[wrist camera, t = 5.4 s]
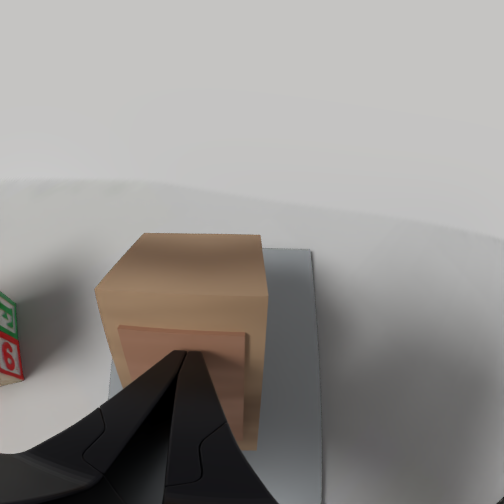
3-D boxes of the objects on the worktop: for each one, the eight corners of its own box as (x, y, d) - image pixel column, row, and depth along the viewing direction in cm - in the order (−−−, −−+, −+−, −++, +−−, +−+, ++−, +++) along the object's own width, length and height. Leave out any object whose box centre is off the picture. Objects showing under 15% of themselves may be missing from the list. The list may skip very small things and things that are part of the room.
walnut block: (256, 454, 11) (268, 299, 8) (143, 445, 11) (91, 292, 8) (254, 374, 16) (260, 234, 13) (164, 370, 16) (143, 233, 13)
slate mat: (316, 551, 10) (318, 554, 10) (114, 537, 10) (111, 540, 9) (308, 253, 20) (310, 249, 20) (133, 249, 20) (131, 245, 19)
